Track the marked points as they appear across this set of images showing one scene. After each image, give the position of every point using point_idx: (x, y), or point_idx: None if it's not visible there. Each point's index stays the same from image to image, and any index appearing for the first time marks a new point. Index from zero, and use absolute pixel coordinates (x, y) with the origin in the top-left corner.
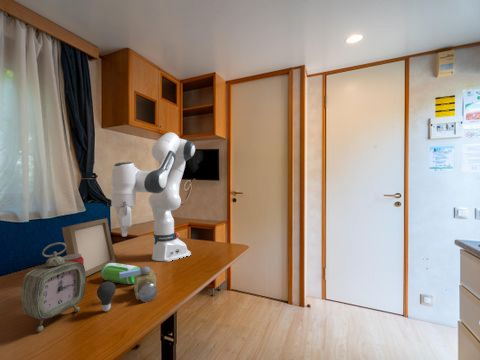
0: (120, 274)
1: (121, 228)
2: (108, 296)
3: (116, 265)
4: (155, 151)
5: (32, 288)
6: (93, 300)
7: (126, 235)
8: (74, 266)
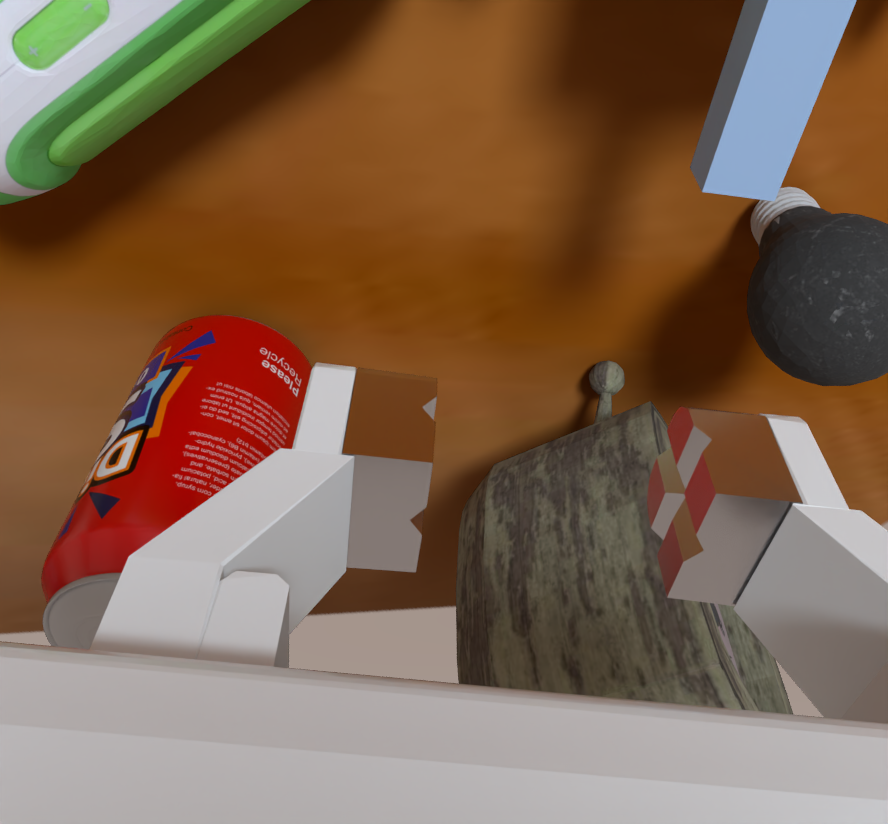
0: (778, 191)
1: (321, 590)
2: None
3: (72, 69)
4: None
5: None
6: (494, 261)
7: (799, 430)
8: (745, 702)
